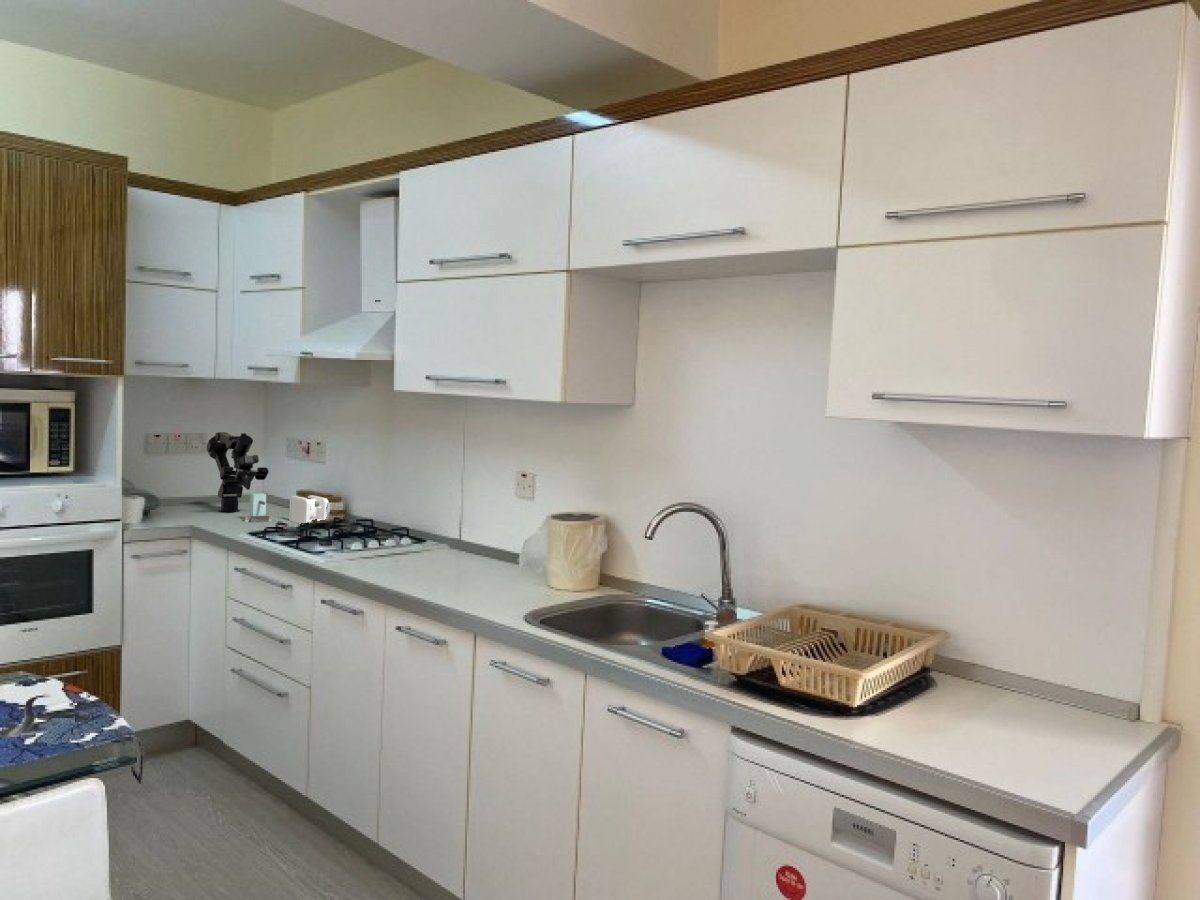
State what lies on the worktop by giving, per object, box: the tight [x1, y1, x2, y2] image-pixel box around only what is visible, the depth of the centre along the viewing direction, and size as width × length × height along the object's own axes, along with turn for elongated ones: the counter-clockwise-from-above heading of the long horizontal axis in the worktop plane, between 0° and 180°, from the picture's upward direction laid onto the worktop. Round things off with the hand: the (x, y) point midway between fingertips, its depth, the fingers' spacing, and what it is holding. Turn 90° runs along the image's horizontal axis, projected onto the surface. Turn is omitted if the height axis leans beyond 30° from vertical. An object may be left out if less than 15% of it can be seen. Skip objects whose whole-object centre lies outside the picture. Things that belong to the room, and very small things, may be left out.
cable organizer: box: [288, 494, 330, 525], centre depth 362 cm, size 15×11×12 cm
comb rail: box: [242, 515, 273, 523], centre depth 360 cm, size 16×12×4 cm
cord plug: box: [249, 492, 267, 522], centre depth 355 cm, size 9×6×11 cm, turn 39°
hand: (248, 489), depth 368 cm, fingers closed
